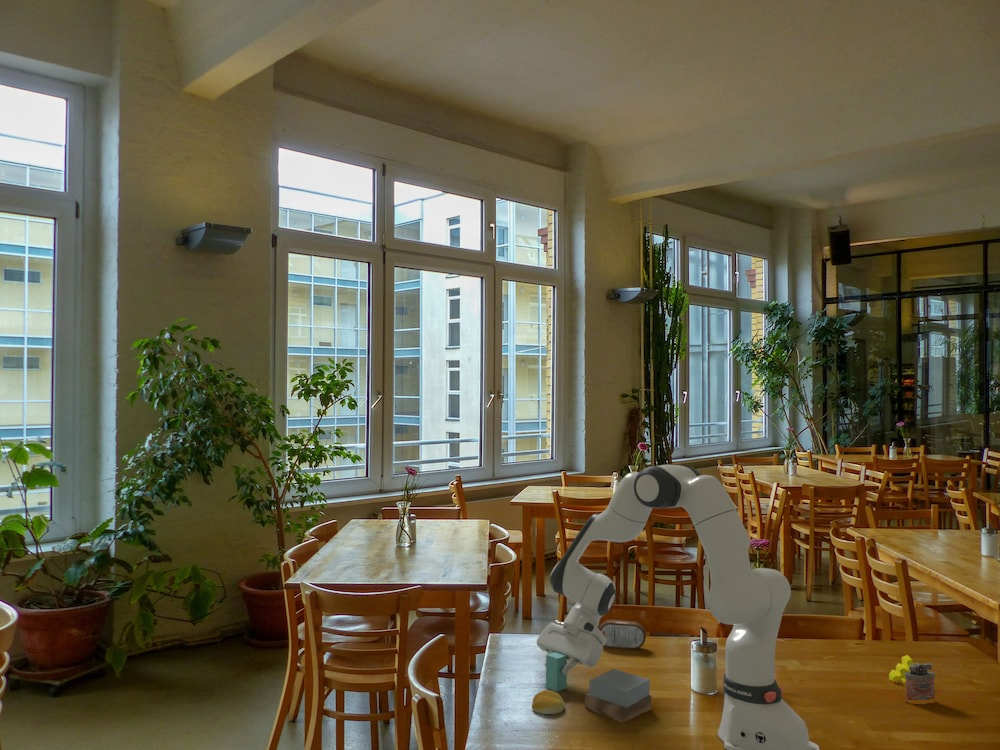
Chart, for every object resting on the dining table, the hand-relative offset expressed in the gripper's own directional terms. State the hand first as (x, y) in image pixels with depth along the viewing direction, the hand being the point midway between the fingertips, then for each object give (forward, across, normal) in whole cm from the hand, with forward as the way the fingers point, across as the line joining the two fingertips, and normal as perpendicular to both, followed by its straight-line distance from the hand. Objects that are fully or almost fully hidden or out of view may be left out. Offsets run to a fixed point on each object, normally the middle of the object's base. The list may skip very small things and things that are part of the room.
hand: (554, 670), depth 212 cm
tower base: (+2, +20, +6) cm, 21 cm away
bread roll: (+11, +8, -4) cm, 14 cm away
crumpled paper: (-52, +62, +59) cm, 100 cm away
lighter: (-44, +70, +51) cm, 97 cm away
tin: (-25, -9, +32) cm, 42 cm away
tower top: (-1, +20, +3) cm, 20 cm away
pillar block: (+3, 0, +4) cm, 5 cm away
